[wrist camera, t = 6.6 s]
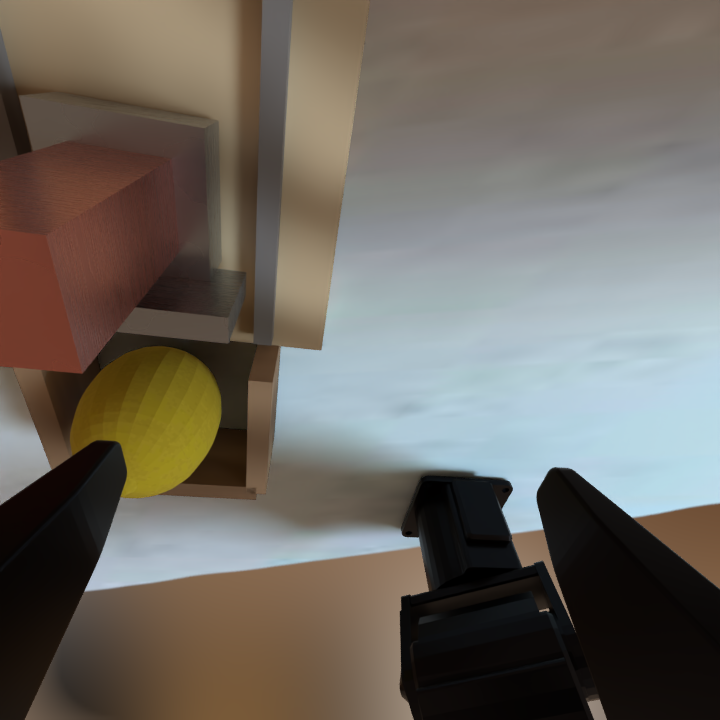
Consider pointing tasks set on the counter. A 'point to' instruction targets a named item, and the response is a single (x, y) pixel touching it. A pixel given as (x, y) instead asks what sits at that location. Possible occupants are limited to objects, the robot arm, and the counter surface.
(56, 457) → the open wooden crate
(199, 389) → the lemon
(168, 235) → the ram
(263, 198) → the wooden board with rails
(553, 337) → the counter surface
